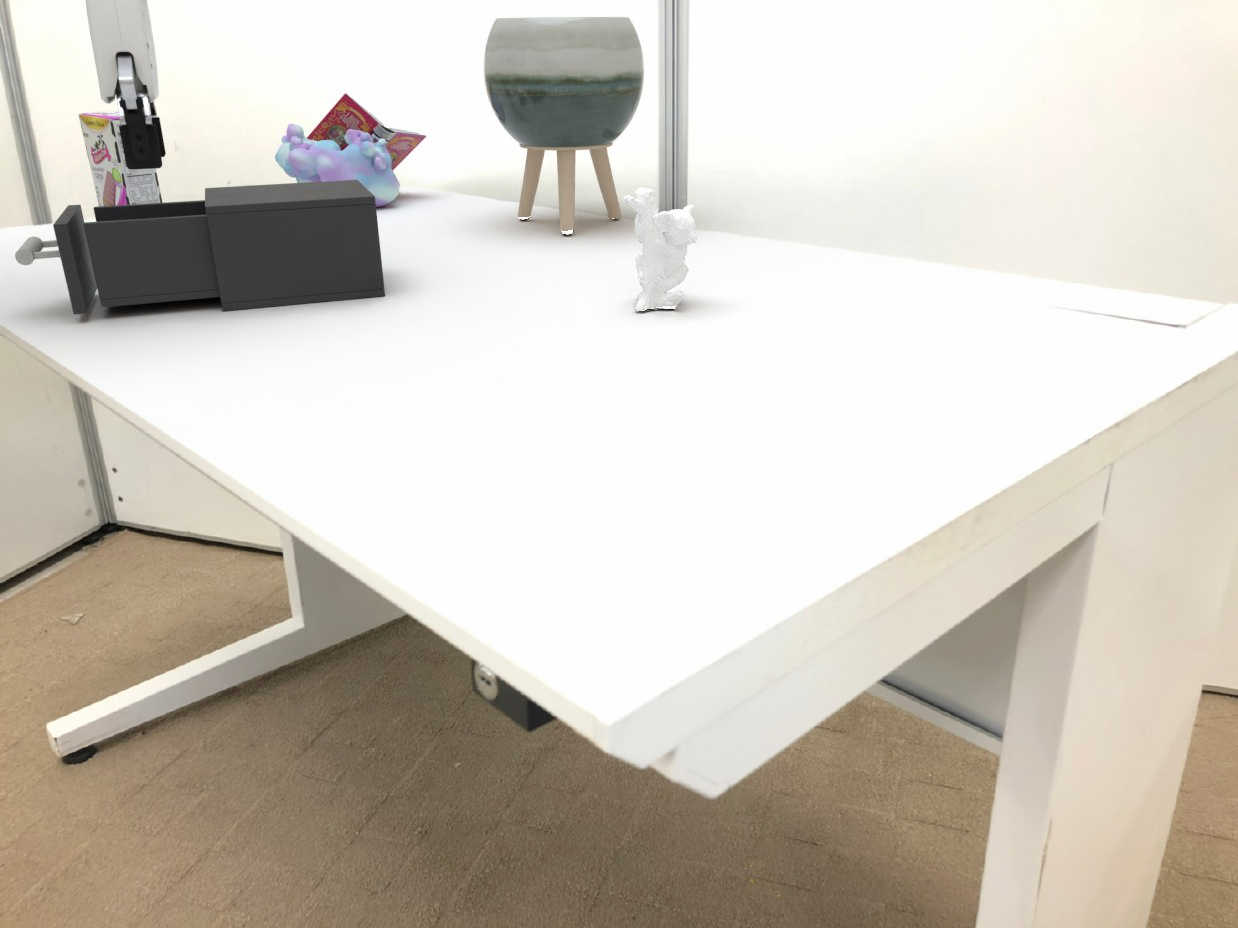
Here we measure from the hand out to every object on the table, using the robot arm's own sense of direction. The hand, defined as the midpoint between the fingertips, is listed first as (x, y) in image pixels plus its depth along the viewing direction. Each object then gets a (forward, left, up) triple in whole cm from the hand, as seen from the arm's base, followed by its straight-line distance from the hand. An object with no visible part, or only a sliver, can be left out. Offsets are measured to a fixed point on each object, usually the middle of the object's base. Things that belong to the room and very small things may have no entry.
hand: (147, 162), depth 102 cm
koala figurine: (+47, -22, -15) cm, 54 cm away
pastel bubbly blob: (+26, +59, -15) cm, 66 cm away
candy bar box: (-6, +41, -15) cm, 44 cm away
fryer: (+13, 0, -14) cm, 19 cm away
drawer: (-3, 0, -13) cm, 14 cm away
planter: (+53, +26, -15) cm, 61 cm away
